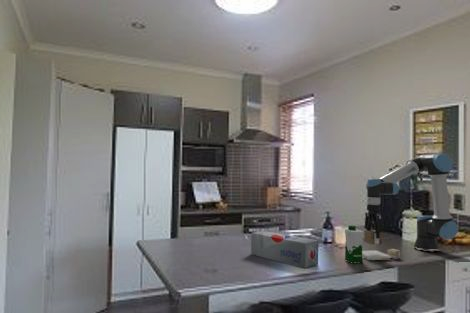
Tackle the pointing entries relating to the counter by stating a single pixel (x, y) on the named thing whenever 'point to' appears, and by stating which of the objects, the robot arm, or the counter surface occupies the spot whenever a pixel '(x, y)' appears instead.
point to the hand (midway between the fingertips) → (372, 242)
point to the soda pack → (285, 248)
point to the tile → (374, 255)
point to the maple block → (393, 253)
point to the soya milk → (353, 244)
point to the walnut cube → (371, 236)
